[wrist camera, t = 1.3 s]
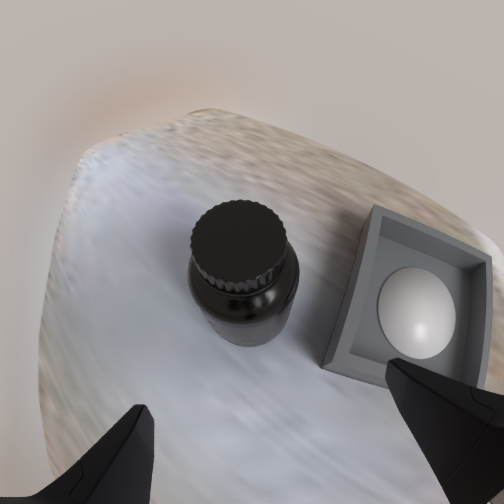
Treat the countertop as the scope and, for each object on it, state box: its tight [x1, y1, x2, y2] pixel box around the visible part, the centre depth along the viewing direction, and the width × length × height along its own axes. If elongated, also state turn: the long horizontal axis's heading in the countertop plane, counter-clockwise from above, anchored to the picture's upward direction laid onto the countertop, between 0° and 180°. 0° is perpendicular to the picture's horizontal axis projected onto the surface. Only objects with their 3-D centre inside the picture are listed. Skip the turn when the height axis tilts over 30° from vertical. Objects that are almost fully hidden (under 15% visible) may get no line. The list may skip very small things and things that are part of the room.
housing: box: [321, 204, 493, 390], centre depth 21 cm, size 15×15×4 cm
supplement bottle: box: [188, 200, 300, 347], centre depth 19 cm, size 7×7×12 cm
